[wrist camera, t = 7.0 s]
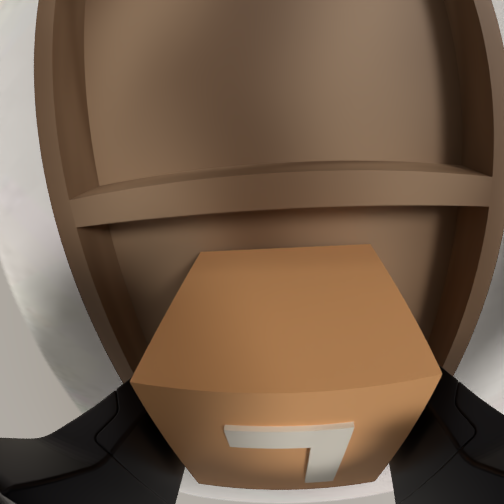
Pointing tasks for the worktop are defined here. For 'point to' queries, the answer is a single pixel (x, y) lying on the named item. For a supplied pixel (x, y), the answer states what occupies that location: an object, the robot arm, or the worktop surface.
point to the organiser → (272, 147)
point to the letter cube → (287, 368)
